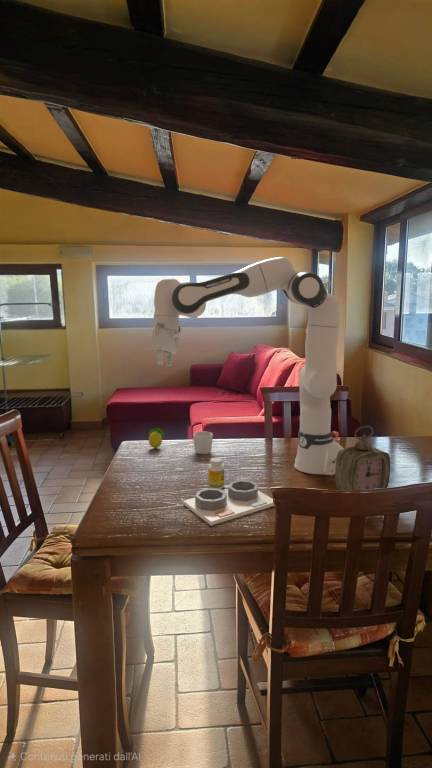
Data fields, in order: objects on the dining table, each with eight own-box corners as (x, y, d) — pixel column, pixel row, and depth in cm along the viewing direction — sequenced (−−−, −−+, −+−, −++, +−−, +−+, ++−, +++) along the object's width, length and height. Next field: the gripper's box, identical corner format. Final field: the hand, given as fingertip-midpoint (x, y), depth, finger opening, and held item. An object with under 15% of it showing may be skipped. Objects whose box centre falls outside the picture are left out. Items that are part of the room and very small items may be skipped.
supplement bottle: (210, 482, 161) (210, 456, 159) (225, 484, 159) (225, 457, 158) (206, 489, 155) (206, 461, 154) (222, 490, 154) (222, 462, 152)
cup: (196, 447, 198) (196, 428, 197) (215, 447, 197) (215, 429, 196) (191, 455, 188) (191, 436, 186) (211, 456, 187) (211, 437, 185)
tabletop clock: (349, 514, 137) (354, 432, 133) (330, 501, 146) (334, 424, 141) (387, 505, 143) (393, 426, 138) (367, 493, 151) (372, 419, 147)
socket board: (246, 487, 157) (246, 475, 156) (277, 504, 143) (277, 492, 143) (183, 504, 144) (183, 491, 143) (211, 525, 131) (210, 511, 130)
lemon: (164, 450, 194) (163, 427, 192) (150, 451, 192) (149, 428, 190) (161, 445, 200) (160, 423, 198) (147, 446, 198) (147, 424, 197)
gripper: (165, 321, 153) (164, 363, 153) (181, 329, 173) (180, 366, 173) (147, 321, 154) (145, 363, 154) (165, 329, 174) (164, 366, 174)
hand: (164, 365), depth 164 cm, fingers open, 8 cm apart
